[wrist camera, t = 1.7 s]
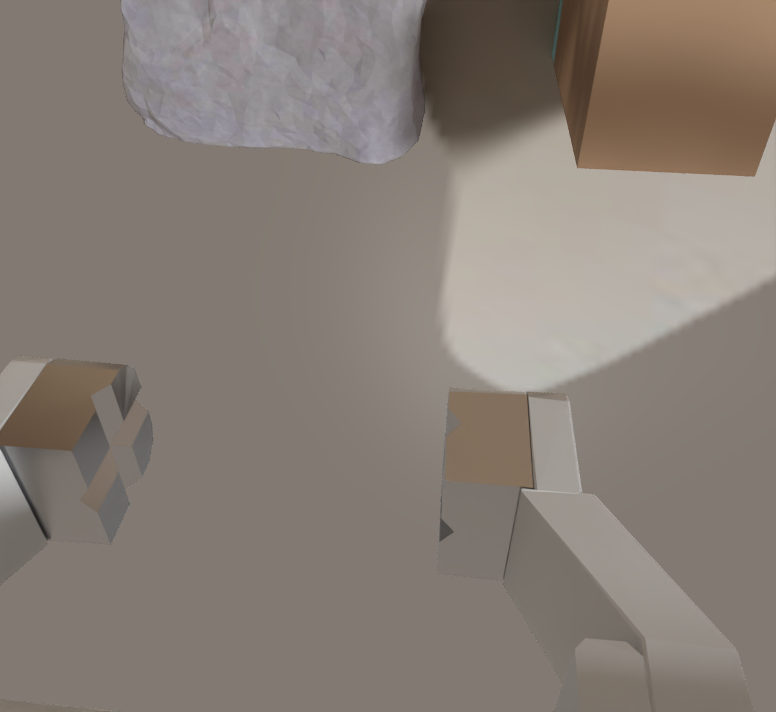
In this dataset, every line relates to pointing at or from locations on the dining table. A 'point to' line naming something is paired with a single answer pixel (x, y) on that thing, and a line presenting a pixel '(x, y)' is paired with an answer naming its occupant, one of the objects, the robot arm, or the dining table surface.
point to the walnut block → (668, 83)
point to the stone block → (278, 73)
